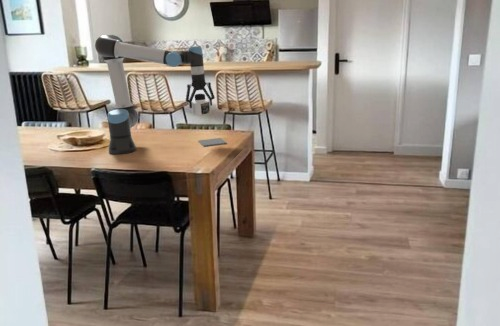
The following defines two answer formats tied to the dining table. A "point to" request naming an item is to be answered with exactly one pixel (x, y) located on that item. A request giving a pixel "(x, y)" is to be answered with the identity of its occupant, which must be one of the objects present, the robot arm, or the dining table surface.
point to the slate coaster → (212, 142)
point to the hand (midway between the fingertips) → (201, 112)
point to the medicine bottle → (201, 105)
